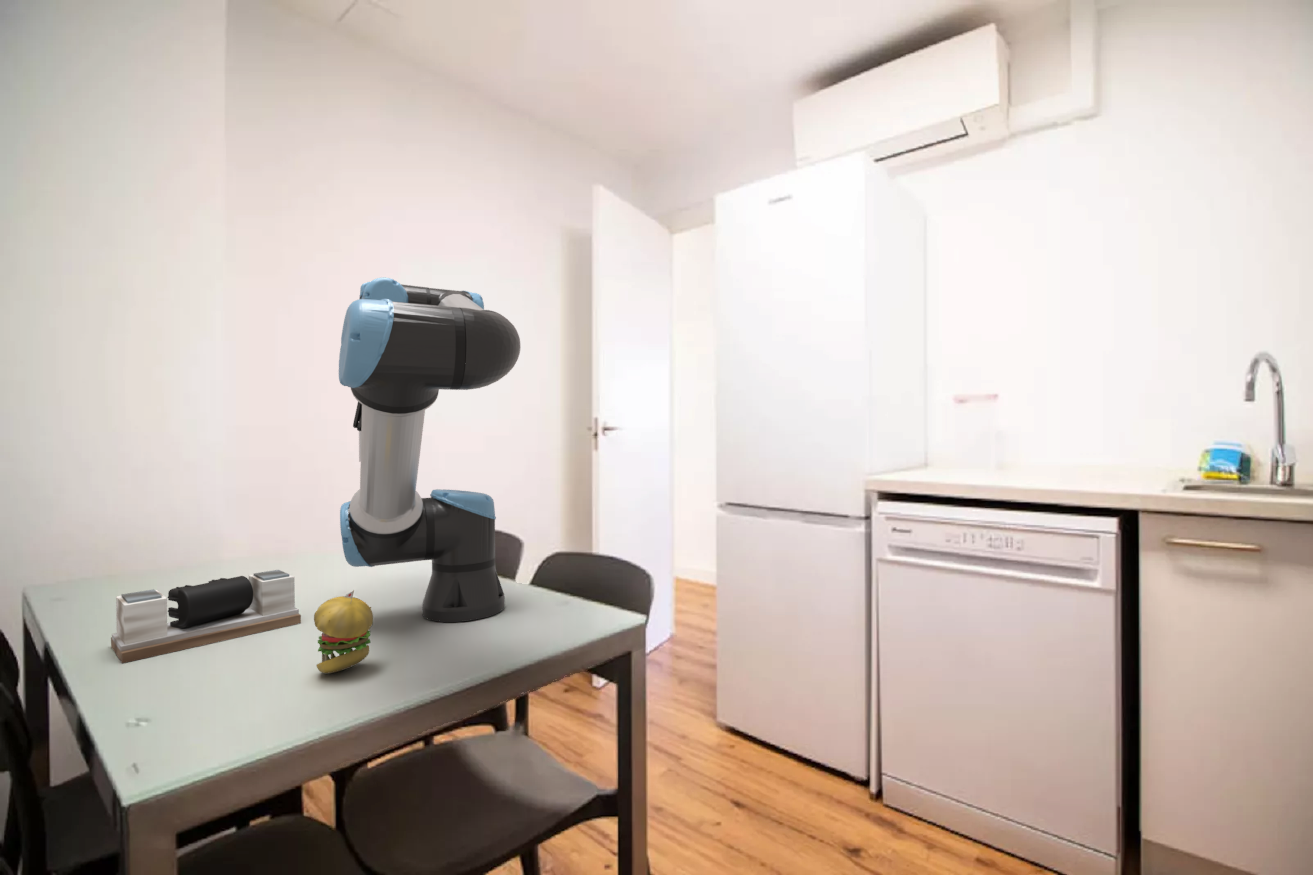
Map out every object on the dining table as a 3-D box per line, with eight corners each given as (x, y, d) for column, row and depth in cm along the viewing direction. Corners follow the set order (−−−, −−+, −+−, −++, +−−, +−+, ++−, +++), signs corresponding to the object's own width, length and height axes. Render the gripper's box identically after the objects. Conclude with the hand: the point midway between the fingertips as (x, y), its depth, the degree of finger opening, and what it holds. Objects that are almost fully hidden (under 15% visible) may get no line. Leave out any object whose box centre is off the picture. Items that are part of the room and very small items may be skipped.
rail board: (300, 623, 105) (300, 575, 105) (122, 663, 86) (121, 605, 86) (280, 611, 112) (279, 566, 112) (111, 646, 94) (110, 593, 94)
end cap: (189, 632, 93) (188, 590, 93) (165, 626, 96) (164, 586, 96) (254, 615, 102) (254, 577, 102) (230, 610, 105) (230, 573, 105)
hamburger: (352, 658, 88) (351, 579, 88) (385, 666, 85) (384, 584, 85) (302, 677, 81) (301, 592, 81) (336, 687, 78) (335, 598, 78)
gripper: (335, 363, 124) (336, 461, 124) (393, 351, 109) (394, 463, 109) (370, 366, 130) (371, 460, 130) (430, 355, 115) (431, 462, 115)
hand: (381, 462), depth 119 cm, fingers open, 13 cm apart
